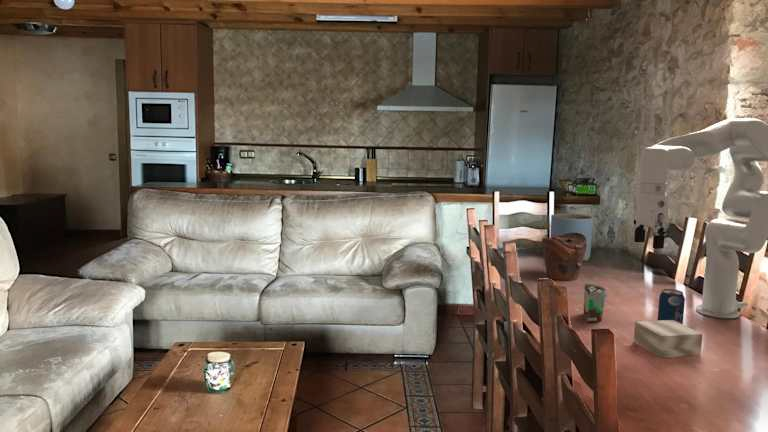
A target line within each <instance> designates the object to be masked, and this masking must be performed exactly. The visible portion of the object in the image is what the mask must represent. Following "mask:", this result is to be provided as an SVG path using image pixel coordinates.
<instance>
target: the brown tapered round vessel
mask: <svg viewBox="0 0 768 432" xmlns="http://www.w3.org/2000/svg"><path fill="white" fill-rule="evenodd" d="M540 247H541V248H542V252H543V254H542V255H543V260H544V267H545V275H546V277H547V278H549V279H552V280H558V281H559V280H560V281H574V280H578V278H579V277H580V274H581V270H582V267H583V262H584V260H583V259H584V255H585V252H586V250H587V239H586V237H585V236H584V235H582V234H580V233H567V234H563V235H559V236H555V237H552V238H551V237H543V238H542V239H541V244H540Z"/></svg>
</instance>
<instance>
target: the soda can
mask: <svg viewBox="0 0 768 432" xmlns="http://www.w3.org/2000/svg"><path fill="white" fill-rule="evenodd" d="M658 298H659V299H658V308H657V309H658V310H657V320H656V321H660V320H675V321H677V322H679V323H681V324H683V325H684V315H685V304H686V303H685V301H686V298H685V296H684V292H683V291H681V290H678V289H673V288H670V289H669V288H664V289H662V290H661V292H660V294H659V297H658Z"/></svg>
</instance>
